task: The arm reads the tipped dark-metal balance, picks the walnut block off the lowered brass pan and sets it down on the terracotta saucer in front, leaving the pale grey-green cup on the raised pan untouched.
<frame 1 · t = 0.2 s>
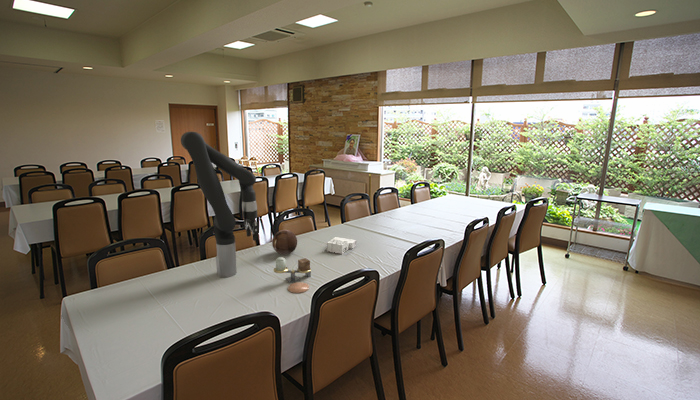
hand: (252, 238, 186), 17 cm above the table, tool pointing down, fingers open, 8 cm apart
balance: (292, 279, 176), on the table
walnut block: (304, 269, 179), point 4 cm above the table, touching balance
grey cup: (280, 269, 171), point 7 cm above the table, touching balance
terracotta saucer: (298, 288, 167), on the table
wooden sphere: (285, 254, 212), on the table
house: (341, 248, 226), on the table
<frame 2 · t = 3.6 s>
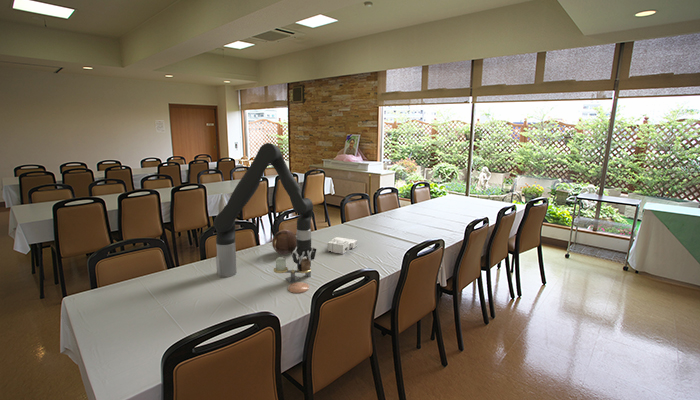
hand: (304, 268, 179), 5 cm above the table, tool pointing down, fingers closed on walnut block, 4 cm apart
walnut block: (304, 269, 179), point 4 cm above the table, touching balance, gripper
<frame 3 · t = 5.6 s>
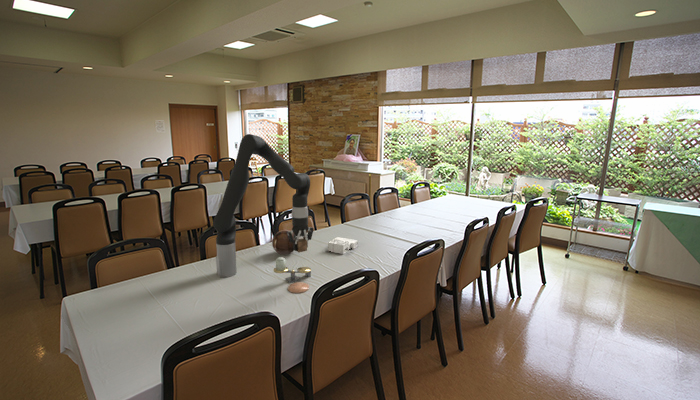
hand: (300, 249, 167), 18 cm above the table, tool pointing down, fingers closed on walnut block, 4 cm apart
walnut block: (300, 250, 167), point 18 cm above the table, touching gripper
when the fingers open (2 cm above the table, at t = 9.3 s): walnut block drops 1 cm, resting on terracotta saucer.
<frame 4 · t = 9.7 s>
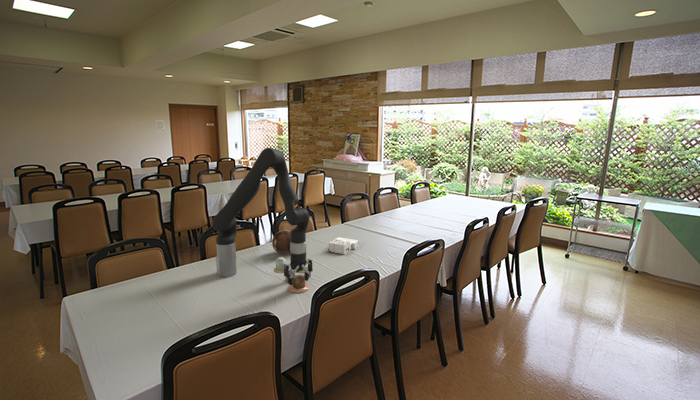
hand: (298, 282, 166), 3 cm above the table, tool pointing down, fingers open, 8 cm apart
walnut block: (298, 286, 167), point 1 cm above the table, touching terracotta saucer
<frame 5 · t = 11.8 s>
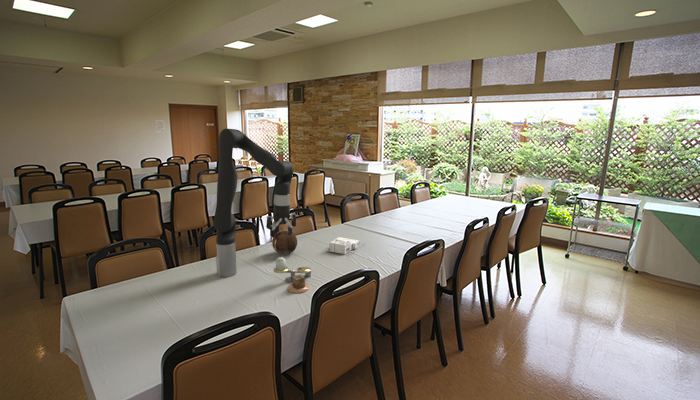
hand: (281, 236, 166), 25 cm above the table, tool pointing down, fingers open, 8 cm apart
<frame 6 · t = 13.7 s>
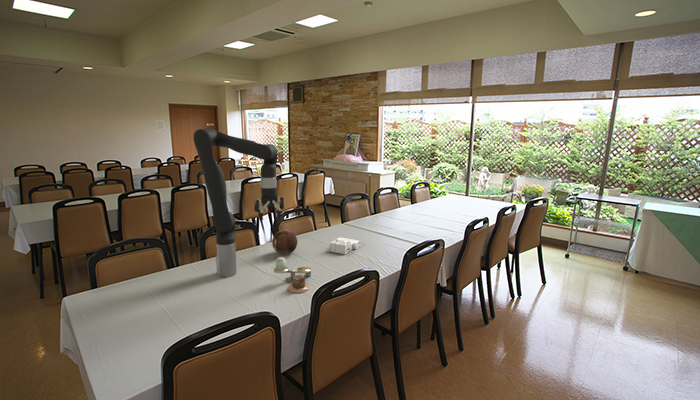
hand: (269, 218, 169), 32 cm above the table, tool pointing down, fingers open, 8 cm apart
at the end: walnut block 0.0 cm from the terracotta saucer (horizontally); walnut block point 0.8 cm above the table; walnut block tilted 0° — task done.
